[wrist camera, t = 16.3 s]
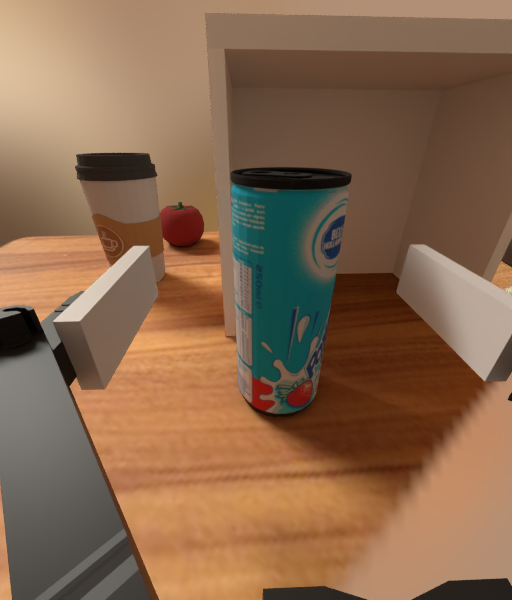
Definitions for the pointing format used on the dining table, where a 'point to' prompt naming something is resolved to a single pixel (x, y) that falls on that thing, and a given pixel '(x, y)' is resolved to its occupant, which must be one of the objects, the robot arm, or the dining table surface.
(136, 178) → the coffee cup
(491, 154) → the open box
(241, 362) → the beverage can
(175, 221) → the tomato
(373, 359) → the dining table surface
